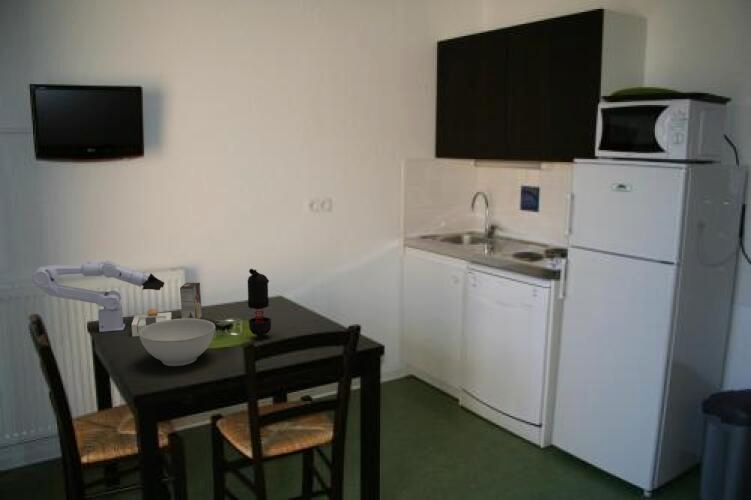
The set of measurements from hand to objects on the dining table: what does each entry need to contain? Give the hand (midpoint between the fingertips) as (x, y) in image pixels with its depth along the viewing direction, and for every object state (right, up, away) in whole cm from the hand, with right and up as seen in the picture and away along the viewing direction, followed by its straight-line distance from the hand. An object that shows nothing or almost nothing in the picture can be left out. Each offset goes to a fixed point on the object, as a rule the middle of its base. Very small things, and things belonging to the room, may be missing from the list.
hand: (162, 286), depth 272 cm
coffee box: (+10, -16, +9) cm, 21 cm away
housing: (-2, -18, -5) cm, 19 cm away
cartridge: (-1, -17, -8) cm, 19 cm away
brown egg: (-4, -15, -1) cm, 15 cm away
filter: (+46, -20, -14) cm, 52 cm away
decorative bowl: (+20, -25, -41) cm, 52 cm away
